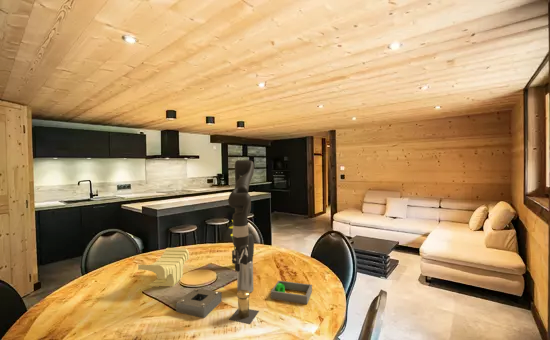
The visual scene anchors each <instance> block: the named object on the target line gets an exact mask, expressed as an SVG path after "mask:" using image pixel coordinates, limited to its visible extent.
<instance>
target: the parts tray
mask: <svg viewBox="0 0 550 340" xmlns="http://www.w3.org/2000/svg"><path fill="white" fill-rule="evenodd" d="M279 283H281V284H283V285H284V286H285V290H290V291H297V292H298V291H299V292H304V293H305V292H306V294H305V295H304V294H298V293H297V294H296V293H292V292H291V293H290V292H286V291H285V292H278V291H275V289H276V286H277V284H279ZM312 294H313V284H310V283H309V284H307V283H300V282H293V281H285V280H277V282H276V283H275V285H274V286H273V288H272V289H271V290H270V299H271V300H278V301H284V302H290V303H297V304H302V305H303V304H304V305H308V304H309V301H310V298H311V295H312Z"/></svg>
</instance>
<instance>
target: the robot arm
mask: <svg viewBox="0 0 550 340" xmlns="http://www.w3.org/2000/svg"><path fill="white" fill-rule="evenodd" d="M254 172H255V164H254V162H253V160H247V159H244V160H242V159H239V160H235V162H234V180H235V181H234V182H235V184H234V185H235V186H234V189H233V190H232V191H231V192H230V193H229V195H228V198H227V199H228V200H227V203H228V205H229V206H230V207H231V208H233V209H234V213H233V214H232V220H233V222H232V226H233V229H232V232H233V233H232V234H233V236H232V238H233V239H232V244H233V247H234V246H235V250H234V249H233V250H232V251H231V264H233V265H234V269H235V270H234V271H235V272H237V273H236V276H237V277H236V282H237V283H236V285H237V287H236V288H237V289H236V290H237V292H238V291H240V290H248V291H249V292H250V293H252V292H253V291H254V254H255V252H254V251H255V250H254V249H255V238H254V235H253V234H252V233H248V232H249V224H248V221H249V220H248V218H249V215H250V213H251V209H252V198H251V197H252V196H251V194H250V193H249V188H250V184H251V182H252V179H253V176H254Z"/></svg>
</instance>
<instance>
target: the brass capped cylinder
mask: <svg viewBox="0 0 550 340" xmlns="http://www.w3.org/2000/svg"><path fill="white" fill-rule="evenodd" d="M250 294H251V292H249V291H248V290H240V291H237V293H236V298H237V309H238V316H239V318H247V317H249V309H250Z"/></svg>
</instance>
